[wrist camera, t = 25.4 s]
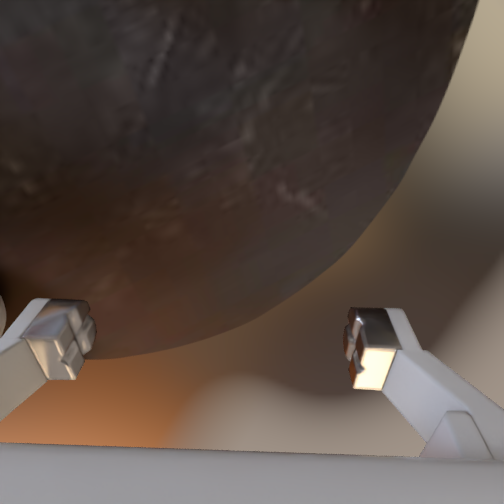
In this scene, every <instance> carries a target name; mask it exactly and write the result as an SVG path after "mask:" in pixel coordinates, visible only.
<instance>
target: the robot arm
mask: <svg viewBox="0 0 504 504" xmlns="http://www.w3.org/2000/svg"><path fill="white" fill-rule="evenodd" d="M89 311H90V307H89V304H88V302H87V301H84V300H70V299H44V298H36V299H34V300H32V301H31V302H30V303H29V304H28V305H27V307H26V308H25V309H24V310H23V312H22V313H21V314H20V315H19V316H18V318H17V319H16V320H15V321H14V323H13V324H12V325H11V326H10V328H9V329H8V330H7V331H6V333H5V334H4V335H3V336H2V337H1V338H0V421H1V420H2V419H4V418H5V417H6V416H7V415H8V414H9V413H10V412H12V411H13V410H14V409H15V408H16V407H18V406H19V405H20V404H21V403H22V402H23V401H25V400H26V399H27V398H28V397H29V396H30V395H32V394H33V393H34V392H35V391H36V390H37V389H38V388H40V387H41V386H42V385H43V384H44V383H46V382H47V380H75V379H76V377H77V375H78V373H79V371H80V370H81V368H82V366H83V364H84V362H85V360H84V357H83V355H84V354H85V353H86V352H88V351H89V350H91V348H92V346H93V344H94V342H95V338H96V333H97V331H96V324H95V321H94V319H93V318H92V317H90V316H89V315H88V313H89ZM348 320H349V324H348V325H347V326H346V327H345V329H344V335H343V336H344V337H343V344H344V352H345V356H346V358H347V359H348V360H349V361H351V362H350V366H349V373H350V377H351V381H352V385H353V388H355V389H370V390H382V392H383V393H384V394H385V396H386V397H387V398H388V399H389V400H390V401H391V403H392V404H393V405H394V406H395V407H396V408H397V410H398V411H399V412H400V413H401V414H402V415H403V417H404V418H405V419H406V420H407V421H408V422H409V423H410V424H411V426H412V427H413V428H414V429H415V430H416V431H417V433H418V434H419V435H420V436H421V437H422V438H423V440H424V441H425V442H426V443H427V444H426V446H425V447H424V449H423V451H422V452H421V454H420V456H419V457H403V456H374V455H344V454H315V453H286V452H258V451H229V450H201V449H174V448H146V447H144V448H143V447H116V446H88V445H58V444H31V443H30V444H29V443H1V442H0V504H504V409H502V408H501V407H500V406H499V405H497V404H496V403H495V402H494V401H492V400H491V399H490V398H488V397H487V396H486V395H484V394H483V393H482V392H481V391H479V390H478V389H477V388H475V387H474V386H473V385H471V384H470V383H469V382H468V381H466V380H465V379H464V378H462V377H461V376H460V375H458V374H457V373H456V372H455V371H453V370H452V369H451V368H449V367H448V366H447V365H445V364H444V363H443V362H442V361H440V360H439V359H438V358H436V357H435V356H434V355H432V354H431V353H430V352H429V351H423V350H422V348H421V347H420V344H419V342H418V340H417V338H416V336H415V334H414V332H413V330H412V328H411V325H410V323H409V321H408V319H407V317H406V315H405V313H404V311H403V310H402V309H401V308H357V307H351V308H350V310H349V312H348Z"/></svg>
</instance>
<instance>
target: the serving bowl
mask: <svg viewBox="0 0 504 504" xmlns="http://www.w3.org/2000/svg"><path fill="white" fill-rule="evenodd" d="M5 323H6V309H5V305H4V302H3V300H2V297H1V295H0V337H1V335H2V333H3V330H4V327H5Z"/></svg>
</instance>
